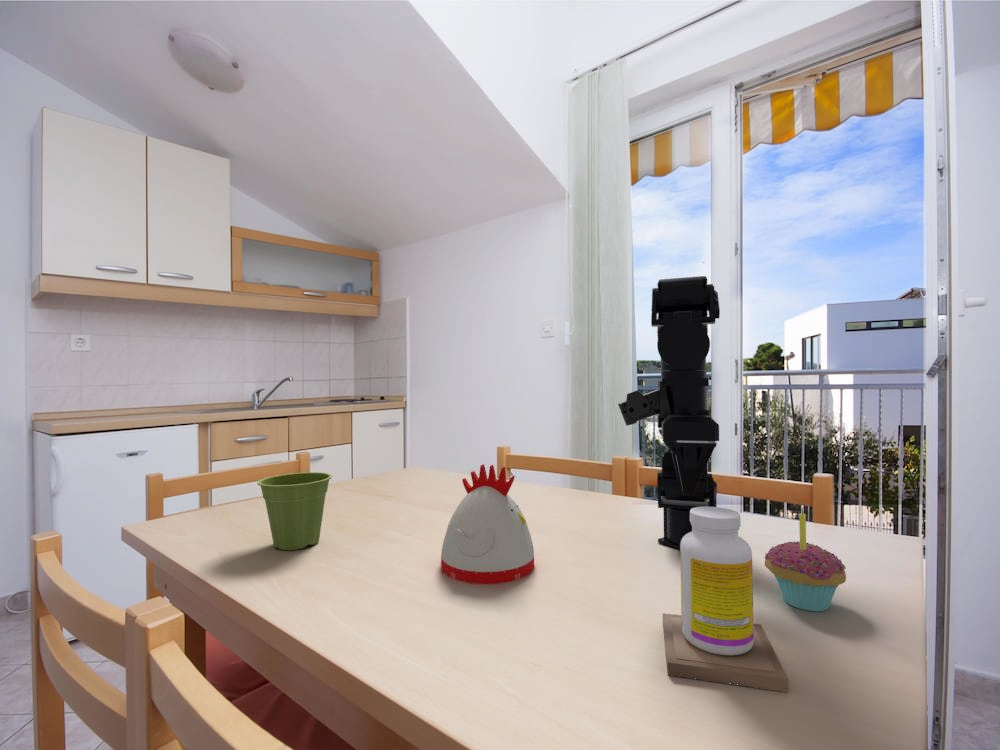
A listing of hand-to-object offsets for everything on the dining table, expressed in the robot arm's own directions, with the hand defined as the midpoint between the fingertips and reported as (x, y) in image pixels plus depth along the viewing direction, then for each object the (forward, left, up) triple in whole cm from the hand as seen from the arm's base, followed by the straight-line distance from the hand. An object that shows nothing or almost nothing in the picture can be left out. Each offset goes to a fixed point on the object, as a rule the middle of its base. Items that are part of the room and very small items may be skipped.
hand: (684, 487), depth 66 cm
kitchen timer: (-22, -18, -13) cm, 31 cm away
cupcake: (+11, +7, -13) cm, 19 cm away
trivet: (+12, -12, -13) cm, 21 cm away
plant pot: (-49, -39, -13) cm, 64 cm away
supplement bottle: (+12, -12, -12) cm, 21 cm away
